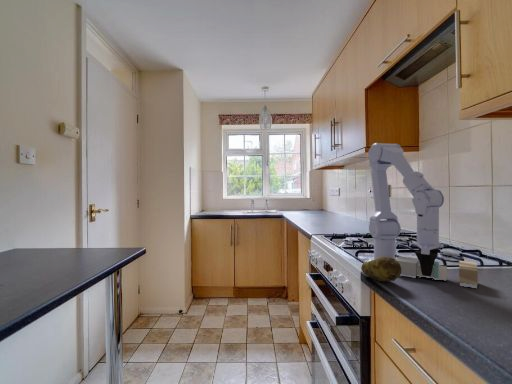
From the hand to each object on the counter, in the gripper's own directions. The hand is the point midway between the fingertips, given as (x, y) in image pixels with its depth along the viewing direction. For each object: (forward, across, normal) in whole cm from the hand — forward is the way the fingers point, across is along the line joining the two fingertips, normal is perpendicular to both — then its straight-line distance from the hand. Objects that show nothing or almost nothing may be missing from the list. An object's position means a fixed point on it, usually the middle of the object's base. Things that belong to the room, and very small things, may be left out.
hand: (427, 273), depth 84 cm
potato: (+2, -12, +11) cm, 16 cm away
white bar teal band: (+1, 0, +1) cm, 2 cm away
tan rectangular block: (+1, 0, -10) cm, 10 cm away
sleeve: (+1, 0, +5) cm, 5 cm away
